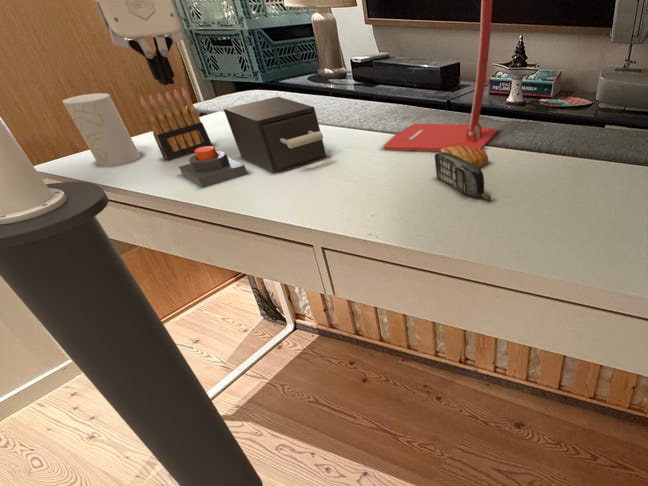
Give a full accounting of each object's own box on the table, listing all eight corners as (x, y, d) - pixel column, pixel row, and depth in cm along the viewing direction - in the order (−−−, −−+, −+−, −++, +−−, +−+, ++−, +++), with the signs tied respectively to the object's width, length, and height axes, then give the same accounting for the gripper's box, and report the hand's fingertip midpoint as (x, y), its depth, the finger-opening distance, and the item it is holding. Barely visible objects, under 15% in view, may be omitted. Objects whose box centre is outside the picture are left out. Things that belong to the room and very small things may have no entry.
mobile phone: (430, 152, 83) (478, 173, 73) (445, 148, 84) (493, 168, 74) (434, 180, 86) (479, 203, 76) (447, 176, 87) (494, 199, 78)
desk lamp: (373, 123, 115) (333, -103, 88) (523, 131, 106) (530, -119, 79) (336, 146, 102) (277, -110, 75) (502, 158, 93) (502, -129, 66)
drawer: (337, 158, 93) (327, 117, 88) (289, 174, 88) (275, 130, 83) (293, 142, 103) (282, 103, 98) (247, 155, 97) (232, 114, 92)
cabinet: (326, 157, 97) (314, 106, 91) (274, 173, 91) (256, 120, 84) (292, 143, 105) (278, 96, 99) (241, 158, 99) (223, 108, 92)
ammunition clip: (208, 144, 106) (184, 86, 98) (212, 146, 106) (188, 86, 98) (163, 158, 100) (133, 97, 92) (168, 160, 99) (138, 98, 91)
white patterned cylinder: (89, 164, 99) (52, 102, 91) (120, 152, 105) (88, 92, 97) (118, 167, 97) (84, 104, 89) (148, 154, 103) (118, 93, 95)
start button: (202, 162, 88) (198, 153, 87) (195, 158, 90) (191, 149, 88) (221, 157, 90) (217, 148, 88) (213, 153, 92) (209, 144, 90)
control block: (202, 187, 87) (194, 168, 84) (182, 175, 92) (174, 157, 90) (247, 173, 91) (241, 155, 89) (226, 162, 97) (219, 145, 94)
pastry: (480, 157, 94) (480, 137, 91) (493, 167, 89) (493, 147, 87) (437, 164, 91) (435, 144, 89) (448, 176, 87) (447, 155, 84)
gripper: (56, -57, 63) (126, 93, 76) (171, -57, 71) (217, 79, 83) (45, -55, 67) (113, 87, 80) (155, -55, 75) (201, 74, 87)
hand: (166, 83), depth 81 cm, fingers closed
